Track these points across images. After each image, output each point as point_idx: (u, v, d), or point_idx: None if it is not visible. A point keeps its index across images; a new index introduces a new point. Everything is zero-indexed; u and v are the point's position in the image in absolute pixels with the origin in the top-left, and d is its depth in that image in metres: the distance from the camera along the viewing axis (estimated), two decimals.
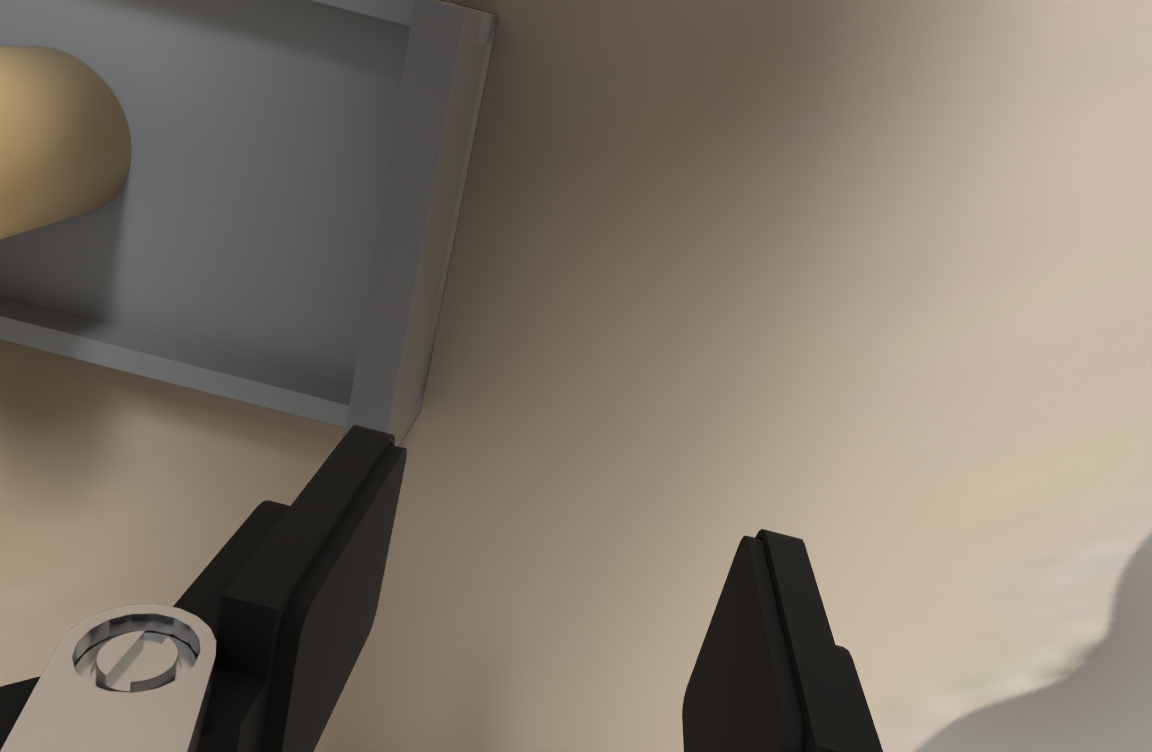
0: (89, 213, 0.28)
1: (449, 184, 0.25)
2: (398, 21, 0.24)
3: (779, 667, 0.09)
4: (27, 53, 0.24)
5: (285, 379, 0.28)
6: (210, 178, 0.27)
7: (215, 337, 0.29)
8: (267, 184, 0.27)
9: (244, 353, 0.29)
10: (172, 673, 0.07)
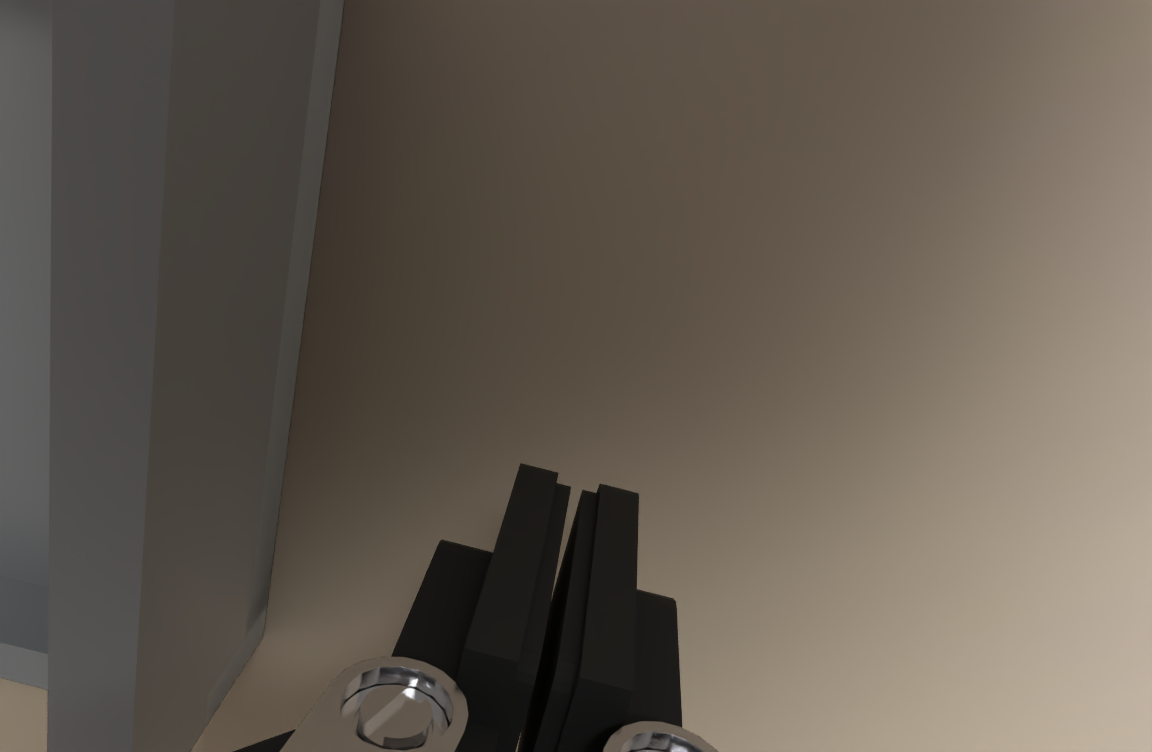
0: None
1: (246, 283, 0.12)
2: None
3: (572, 608, 0.09)
4: None
5: None
6: None
7: None
8: None
9: None
10: (429, 728, 0.07)
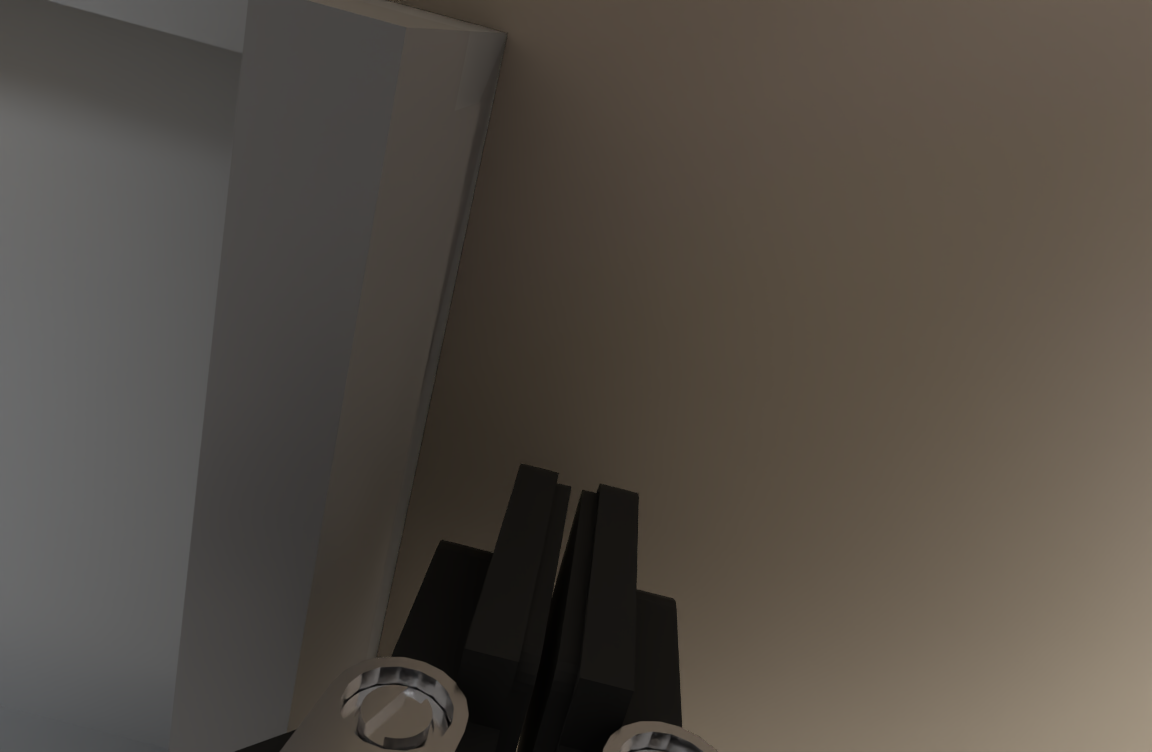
0: None
1: (389, 435, 0.10)
2: None
3: (572, 608, 0.09)
4: None
5: None
6: None
7: None
8: (6, 390, 0.13)
9: None
10: (429, 728, 0.07)
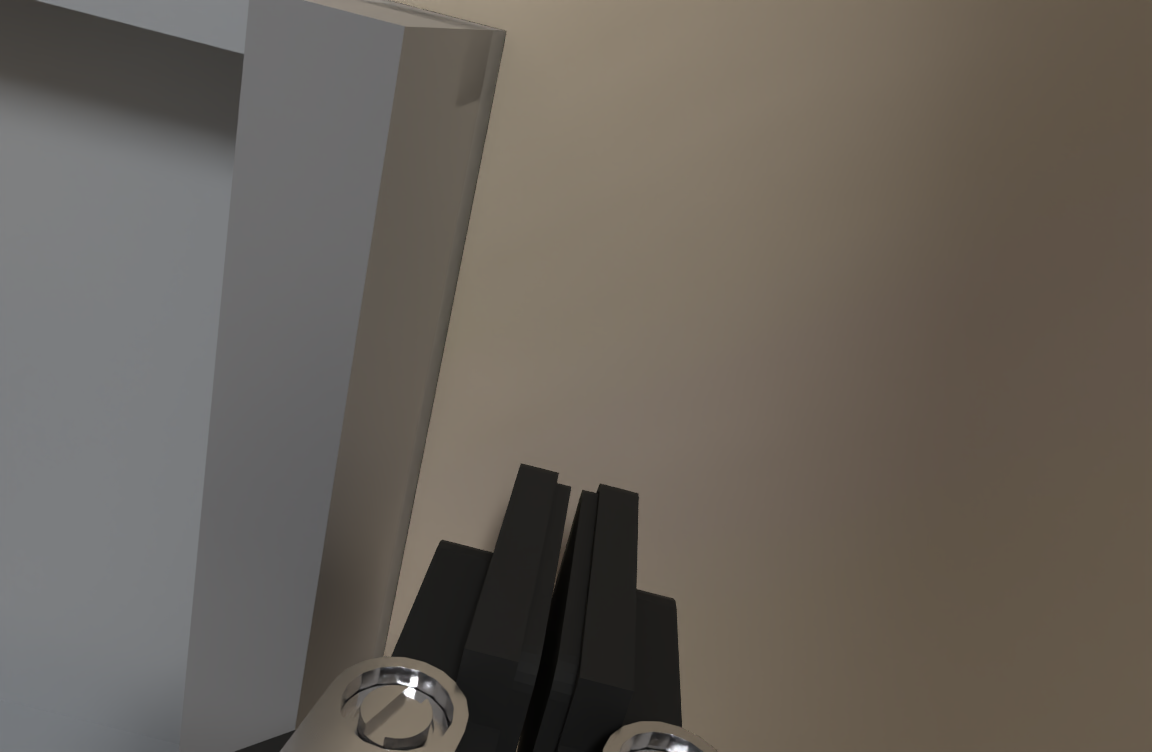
0: None
1: (393, 431, 0.11)
2: None
3: (572, 608, 0.09)
4: None
5: None
6: None
7: None
8: (16, 391, 0.13)
9: (7, 695, 0.15)
10: (429, 728, 0.07)
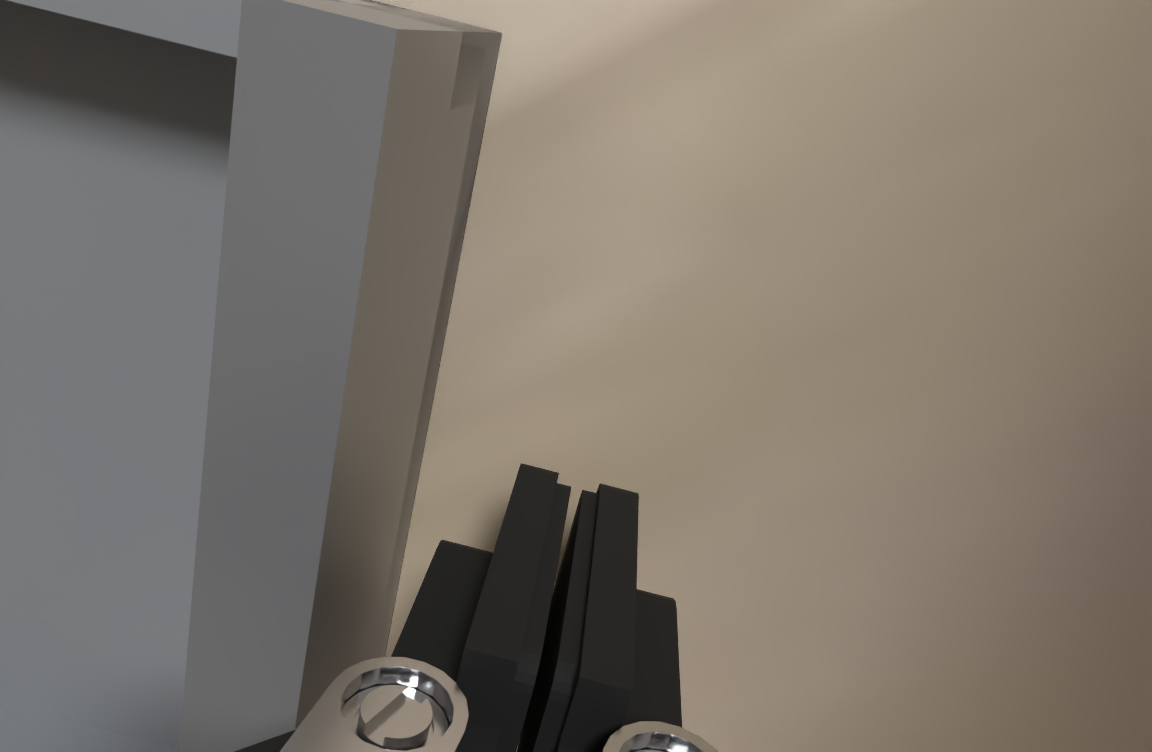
0: None
1: (391, 434, 0.11)
2: None
3: (572, 608, 0.09)
4: None
5: None
6: None
7: None
8: (14, 396, 0.13)
9: (8, 700, 0.15)
10: (429, 728, 0.07)
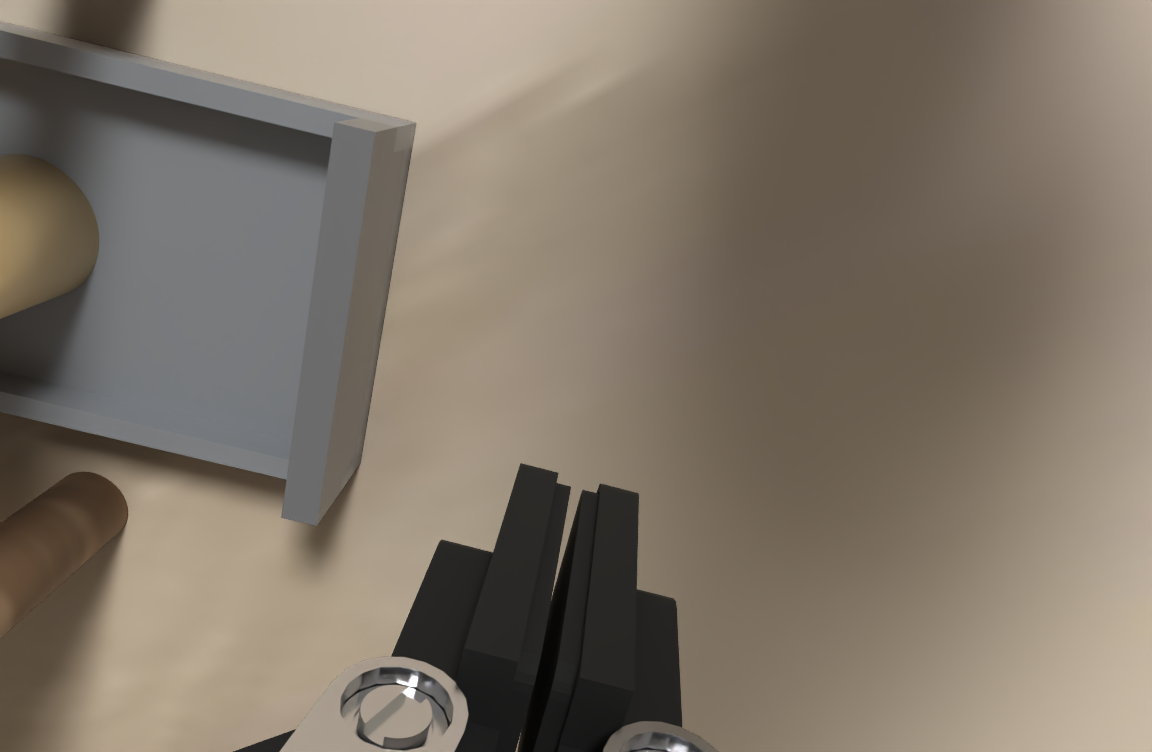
0: (62, 295, 0.32)
1: (374, 270, 0.29)
2: (326, 135, 0.28)
3: (572, 608, 0.09)
4: (7, 164, 0.28)
5: (237, 438, 0.32)
6: (168, 264, 0.31)
7: (175, 401, 0.33)
8: (218, 268, 0.31)
9: (201, 415, 0.33)
10: (429, 727, 0.07)
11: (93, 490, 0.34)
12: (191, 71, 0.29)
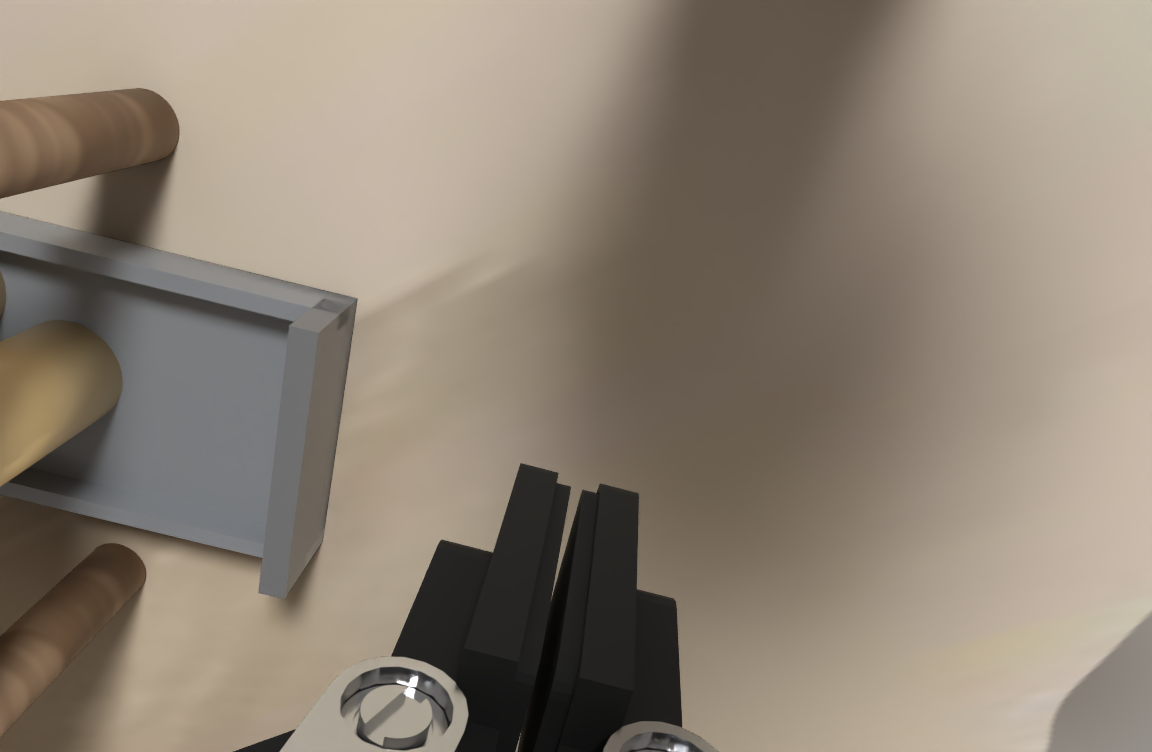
0: None
1: (325, 412, 0.39)
2: (287, 318, 0.38)
3: (573, 608, 0.09)
4: (55, 336, 0.38)
5: (227, 526, 0.42)
6: (174, 399, 0.41)
7: (180, 496, 0.43)
8: (212, 403, 0.41)
9: (200, 506, 0.43)
10: (428, 728, 0.07)
11: (119, 559, 0.45)
12: (189, 265, 0.39)
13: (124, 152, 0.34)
